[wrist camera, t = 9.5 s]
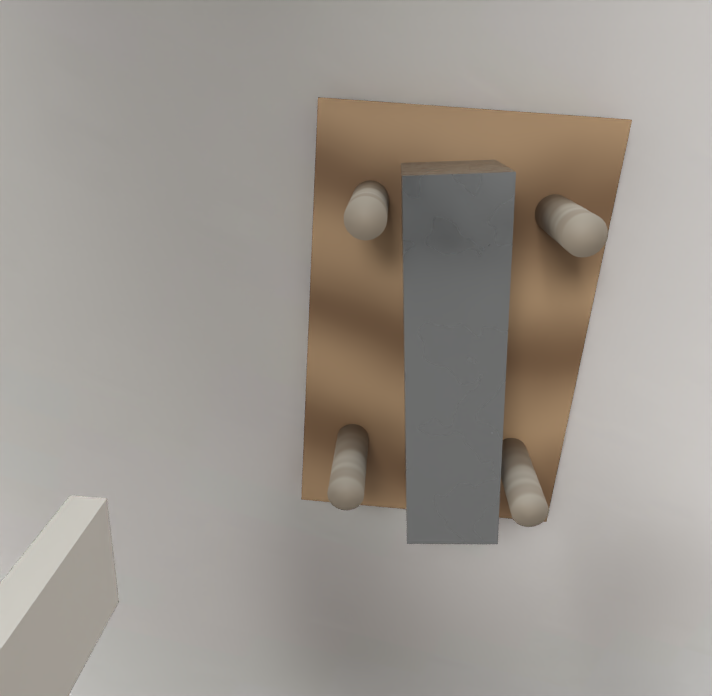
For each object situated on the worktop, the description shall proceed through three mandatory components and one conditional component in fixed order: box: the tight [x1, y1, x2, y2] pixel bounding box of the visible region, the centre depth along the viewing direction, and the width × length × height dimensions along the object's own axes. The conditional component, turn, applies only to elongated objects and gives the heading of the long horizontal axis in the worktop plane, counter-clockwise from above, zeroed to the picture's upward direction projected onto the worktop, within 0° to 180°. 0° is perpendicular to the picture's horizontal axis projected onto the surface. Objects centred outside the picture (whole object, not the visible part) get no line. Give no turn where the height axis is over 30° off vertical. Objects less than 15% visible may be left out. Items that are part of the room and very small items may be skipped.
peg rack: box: [301, 97, 632, 527], centre depth 28 cm, size 20×13×6 cm, turn 176°
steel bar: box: [401, 160, 516, 544], centre depth 28 cm, size 16×4×5 cm, turn 2°
